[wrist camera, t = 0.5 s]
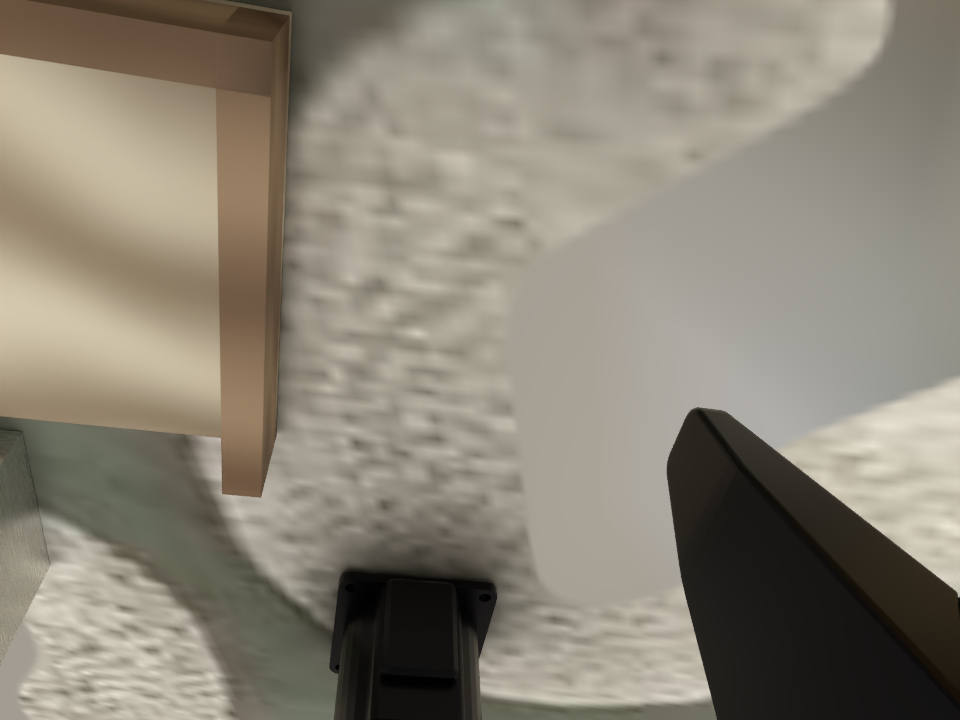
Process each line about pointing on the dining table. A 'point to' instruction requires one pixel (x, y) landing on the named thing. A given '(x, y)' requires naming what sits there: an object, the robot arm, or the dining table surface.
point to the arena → (145, 218)
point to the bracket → (18, 538)
